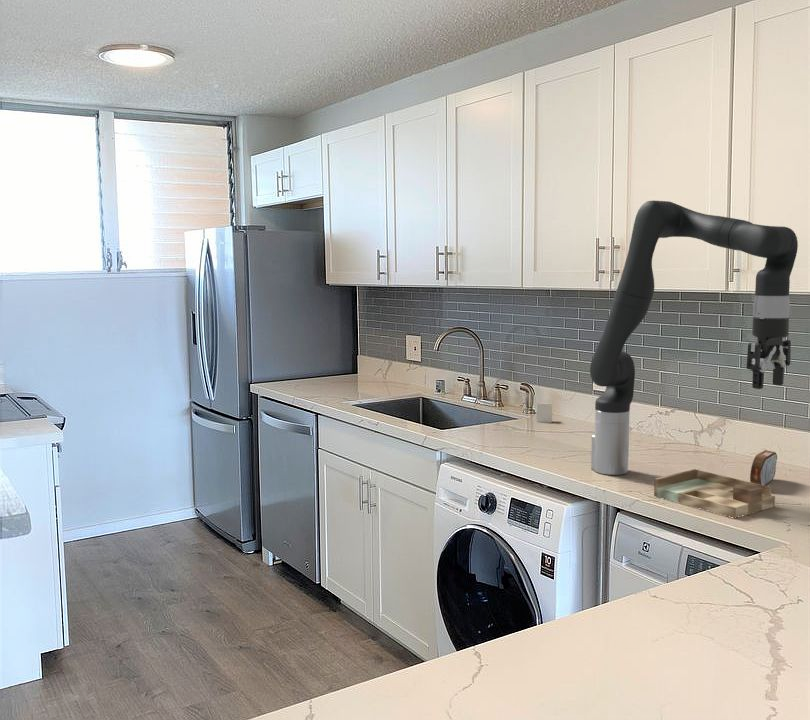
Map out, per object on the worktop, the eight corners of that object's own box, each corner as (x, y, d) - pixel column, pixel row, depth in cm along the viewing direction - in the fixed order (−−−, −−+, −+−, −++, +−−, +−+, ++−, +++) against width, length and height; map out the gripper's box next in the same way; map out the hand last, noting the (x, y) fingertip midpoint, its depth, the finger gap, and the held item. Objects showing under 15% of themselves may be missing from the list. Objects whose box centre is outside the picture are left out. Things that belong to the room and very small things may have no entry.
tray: (654, 496, 201) (654, 478, 201) (694, 486, 210) (694, 469, 210) (734, 518, 183) (734, 499, 183) (774, 506, 192) (775, 488, 192)
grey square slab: (537, 421, 301) (537, 401, 300) (556, 422, 299) (556, 402, 298) (536, 423, 298) (536, 403, 297) (555, 424, 296) (555, 404, 295)
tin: (765, 477, 219) (767, 446, 218) (778, 479, 217) (779, 448, 216) (748, 489, 207) (749, 457, 206) (761, 491, 205) (762, 458, 204)
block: (732, 499, 189) (733, 486, 189) (744, 496, 192) (744, 483, 192) (750, 503, 186) (751, 491, 185) (761, 500, 188) (762, 488, 188)
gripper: (772, 313, 191) (768, 382, 193) (737, 316, 183) (735, 387, 184) (803, 315, 185) (800, 385, 187) (769, 317, 177) (766, 391, 178)
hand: (767, 386), depth 186 cm, fingers open, 8 cm apart
